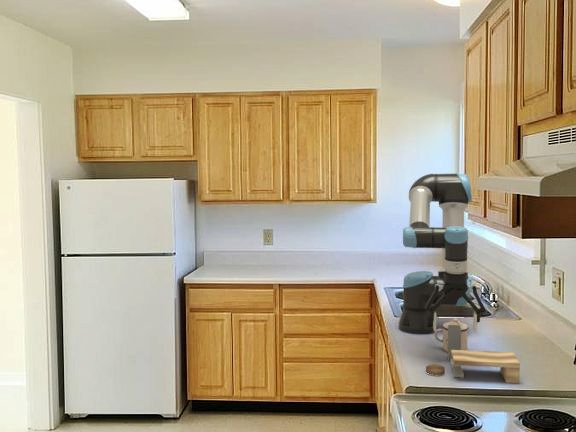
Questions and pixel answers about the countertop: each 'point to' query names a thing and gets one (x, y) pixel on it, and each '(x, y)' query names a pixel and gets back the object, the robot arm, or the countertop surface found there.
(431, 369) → the coaster
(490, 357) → the shelf
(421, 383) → the countertop surface
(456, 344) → the gray l-shaped block
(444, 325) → the teacup with lid
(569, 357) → the countertop surface
